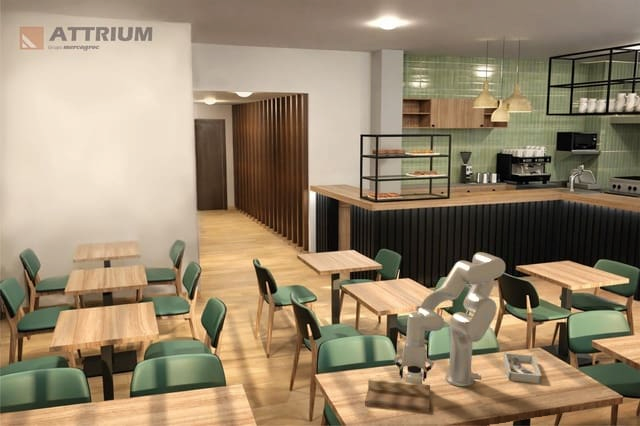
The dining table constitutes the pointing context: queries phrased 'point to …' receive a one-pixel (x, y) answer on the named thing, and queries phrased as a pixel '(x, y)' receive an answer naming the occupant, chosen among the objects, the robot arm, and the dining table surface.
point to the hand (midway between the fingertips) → (412, 378)
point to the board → (398, 395)
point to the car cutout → (519, 367)
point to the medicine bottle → (414, 375)
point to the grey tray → (522, 376)
